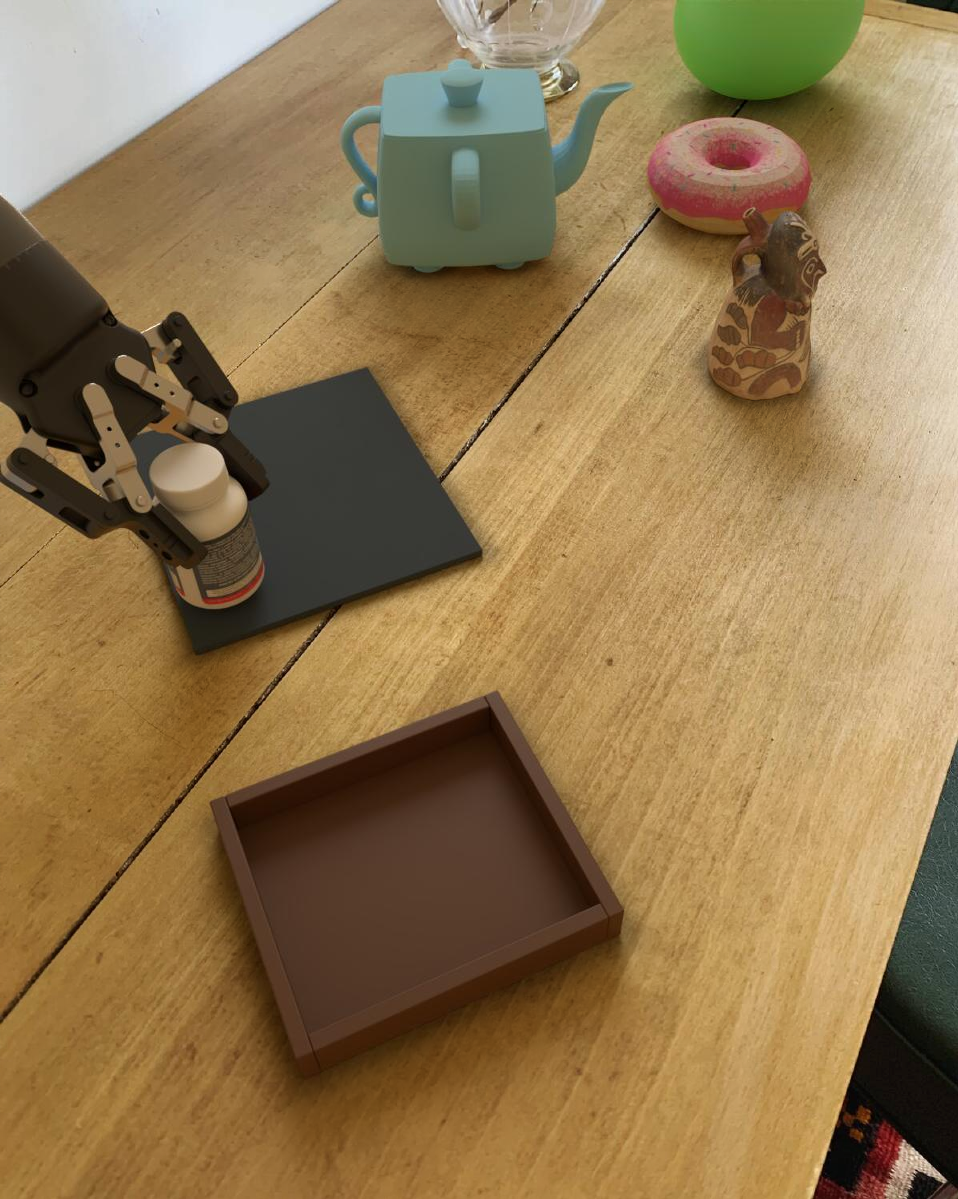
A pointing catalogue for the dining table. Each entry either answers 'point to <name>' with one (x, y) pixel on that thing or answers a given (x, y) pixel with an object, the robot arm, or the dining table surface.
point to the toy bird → (764, 43)
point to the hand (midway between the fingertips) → (229, 525)
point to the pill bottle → (209, 525)
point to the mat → (327, 506)
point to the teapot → (469, 165)
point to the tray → (410, 879)
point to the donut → (727, 174)
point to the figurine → (767, 310)
